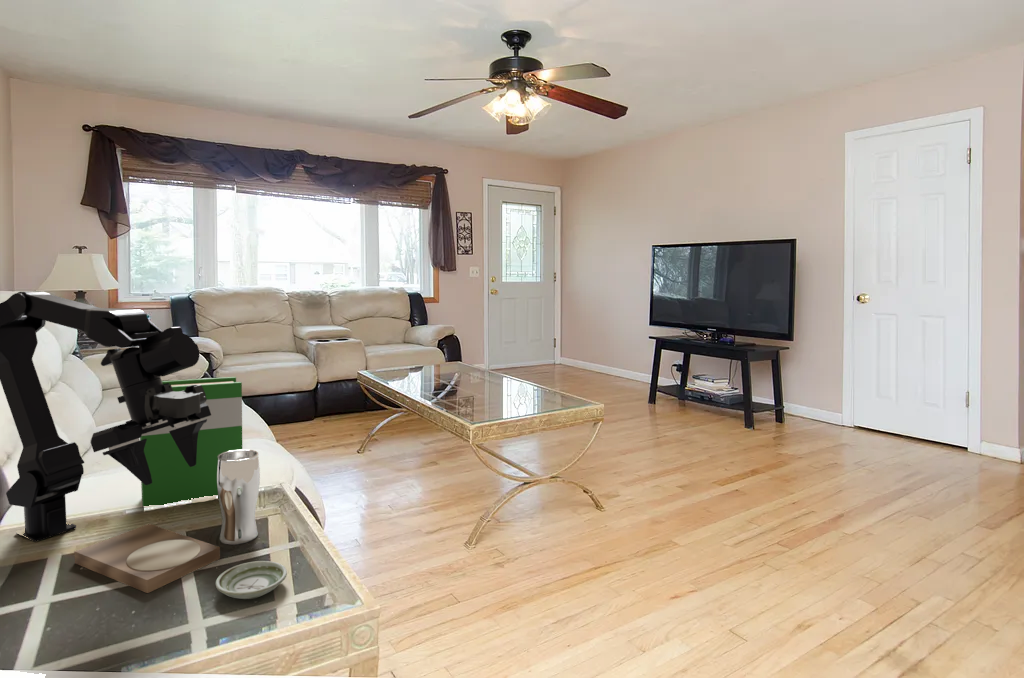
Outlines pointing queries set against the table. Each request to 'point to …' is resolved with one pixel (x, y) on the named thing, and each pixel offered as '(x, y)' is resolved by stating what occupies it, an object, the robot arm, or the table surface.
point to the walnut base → (147, 557)
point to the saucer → (251, 579)
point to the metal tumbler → (238, 494)
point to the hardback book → (214, 438)
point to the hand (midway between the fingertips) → (172, 474)
